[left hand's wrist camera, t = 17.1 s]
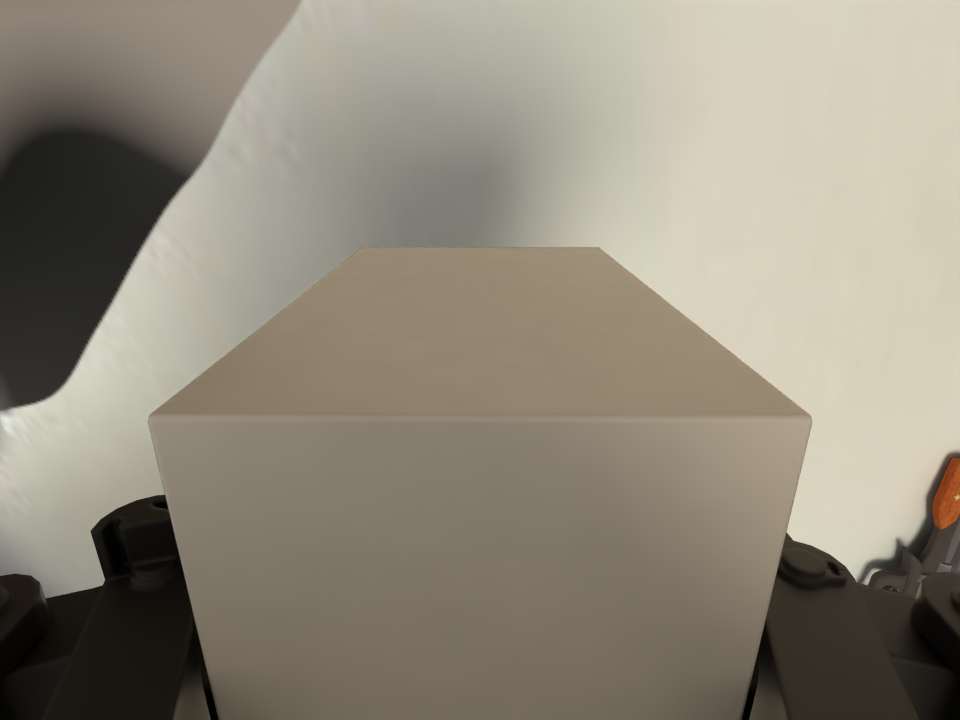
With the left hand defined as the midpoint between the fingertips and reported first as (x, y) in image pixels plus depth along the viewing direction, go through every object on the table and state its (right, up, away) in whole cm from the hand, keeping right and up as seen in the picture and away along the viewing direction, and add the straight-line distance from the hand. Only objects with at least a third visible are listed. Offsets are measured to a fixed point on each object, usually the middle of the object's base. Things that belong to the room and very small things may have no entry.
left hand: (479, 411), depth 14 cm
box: (0, -8, +4) cm, 9 cm away
